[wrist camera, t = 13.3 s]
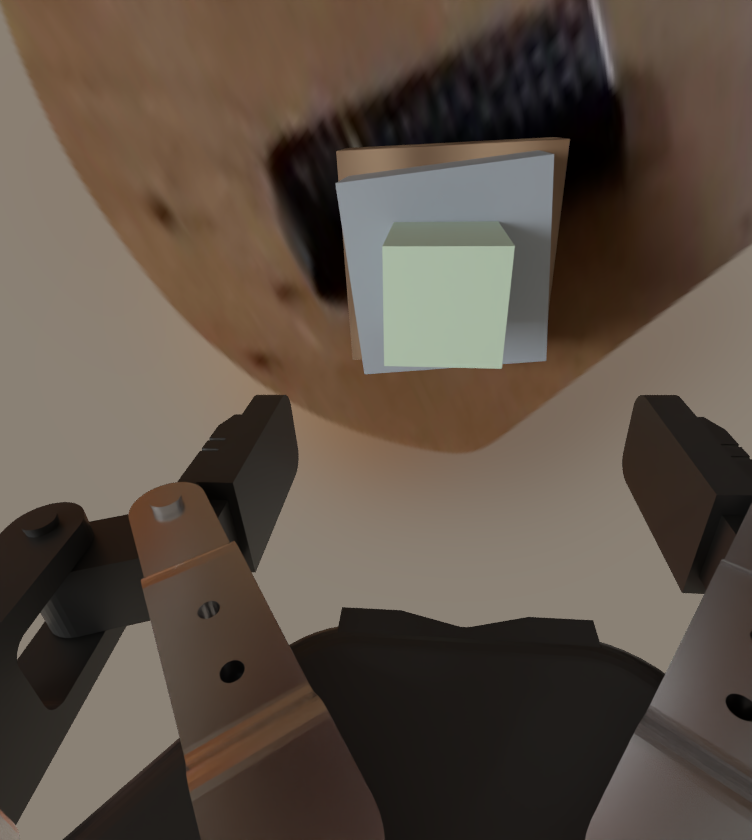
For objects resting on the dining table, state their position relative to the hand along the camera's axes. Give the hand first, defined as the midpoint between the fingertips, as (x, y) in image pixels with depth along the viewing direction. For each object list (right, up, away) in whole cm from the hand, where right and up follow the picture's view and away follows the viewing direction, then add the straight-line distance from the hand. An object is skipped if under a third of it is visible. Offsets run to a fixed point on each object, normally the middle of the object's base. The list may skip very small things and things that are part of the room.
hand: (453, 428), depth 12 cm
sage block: (+2, +8, +14) cm, 16 cm away
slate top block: (+2, +9, +17) cm, 20 cm away
